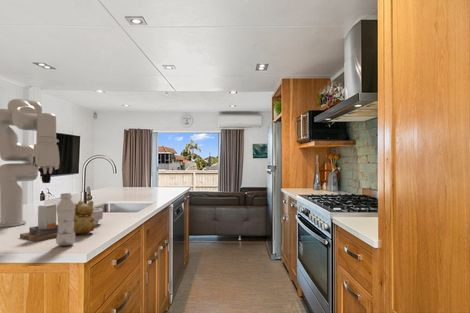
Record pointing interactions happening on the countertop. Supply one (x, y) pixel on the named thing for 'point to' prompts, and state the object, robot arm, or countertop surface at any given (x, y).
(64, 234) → the plastic bottle
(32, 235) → the serum holder
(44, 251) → the countertop surface
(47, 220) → the skincare box
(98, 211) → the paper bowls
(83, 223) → the decorative figurine
